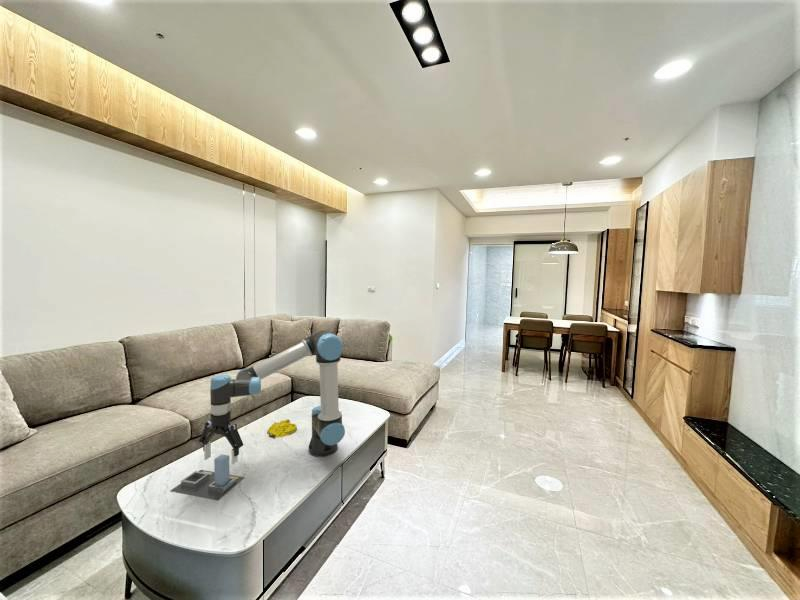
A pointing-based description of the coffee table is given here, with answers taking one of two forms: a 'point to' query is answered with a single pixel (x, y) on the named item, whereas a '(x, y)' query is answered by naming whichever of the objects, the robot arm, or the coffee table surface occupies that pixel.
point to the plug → (222, 470)
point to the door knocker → (282, 428)
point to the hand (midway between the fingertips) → (220, 460)
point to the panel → (205, 485)
